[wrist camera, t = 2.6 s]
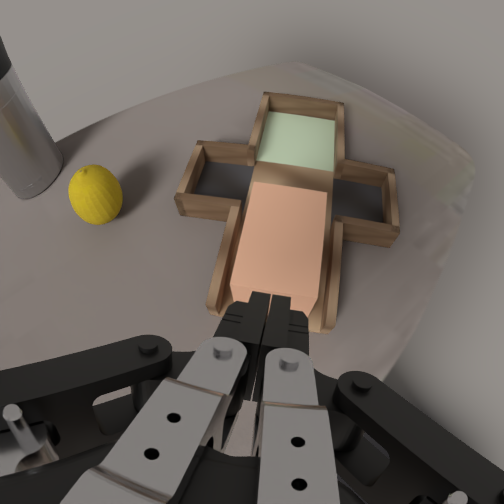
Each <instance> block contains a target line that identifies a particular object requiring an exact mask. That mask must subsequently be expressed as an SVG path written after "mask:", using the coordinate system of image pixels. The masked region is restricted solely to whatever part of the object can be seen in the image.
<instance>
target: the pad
mask: <svg viewBox="0 0 504 504" xmlns="http://www.w3.org/2000/svg"><path fill="white" fill-rule="evenodd" d="M334 131H335V121H333V120H327V119H321V118H315V117H308V116H301V115H294V114H286V113H278V112H270V111H269V112H268V116H267V120H266V123H265V127H264V131H263V135H262V139H261V143H260V147H259V151H258V155H257V159H256V160H257V161H265V162H273V163H280V164H287V165H294V166H301V167H307V168H314V169H320V170H326V171H331V172H333V169H334Z"/></svg>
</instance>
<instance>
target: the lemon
mask: <svg viewBox="0 0 504 504" xmlns="http://www.w3.org/2000/svg"><path fill="white" fill-rule="evenodd" d="M69 198H70V201H71V204H72V206H73V209H74V210H75V212H76V213H77V214H78V215H79V216H80V217H81V218H82V219H83V220H84V221H86V222H88V223H90V224H95V225H101V224H105V223H108V222H110V221H111V220H113V219H114V218H115V217H116V216H117V214H118V213H119V211H120V209H121V206H122V202H123V197H122V190H121V187H120V185H119V182H118V181H117V179H116V178H115V177H114V175H113V174H112V173H111V172H110V171H109V170H107V169H106V168H104V167H102V166H100V165H87V166H84V167H82V168H81V169H79V170H78V171H77V172H76V173H75V174H74V175H73V177H72V179H71V181H70V184H69Z"/></svg>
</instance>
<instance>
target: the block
mask: <svg viewBox="0 0 504 504" xmlns="http://www.w3.org/2000/svg"><path fill="white" fill-rule="evenodd" d="M326 202H327V192H321V191H315V190H309V189H302V188H296V187H289V186H282V185H275V184H268V183H261V182H254V183H253V187H252V192H251V196H250V200H249V204H248V208H247V213H246V217H245V221H244V225H243V229H242V234H241V238H240V242H239V246H238V251H237V255H236V259H235V264H234V268H233V272H232V277H231V281H230V287H231V292H232V296H233V300H234V302H235V301H241V302H247V303H248V301H249V298H250V296H251V293H252V291H257V292H263V293H269V294H271V298H270V304H271V299H272V295H273V294H275V295H282V296H288V297H291V306H290V310H297V311H303V312H304V314H305V315H306V316H307V317H308V316H309V314H310V312H311V310H312V308H313V306H314V304H315V302H316V300H317V298H318V290H319V281H320V271H321V262H322V251H323V240H324V229H325V216H326ZM269 308H270V305H269ZM268 313H269V311H268Z"/></svg>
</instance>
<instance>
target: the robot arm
mask: <svg viewBox="0 0 504 504" xmlns="http://www.w3.org/2000/svg"><path fill="white" fill-rule="evenodd" d="M62 164H63V156H62V154H61V152H60V151H59V149H58V147H57V146H56V144H55V142H54V141H53V139H52V137H51V136H50V134H49V132H48V131H47V129H46V127H45V125H44V124H43V122H42V120H41V118H40V117H39V115H38V113H37V111H36V109H35V108H34V106H33V104H32V102H31V100H30V99H29V97H28V95H27V93H26V91H25V89H24V87H23V85H22V83H21V81H20V80H19V78H18V76H17V74H16V72H15V70H14V68H13V66H12V64H11V61H10V59H9V57H8V55H7V52H6V50H5V47H4V44H3V42H2V39H1V37H0V177H1V178H2V179H3V180H4V182H5V183H6V184H7V185H8V186H9V188H10V189H11V190H12V191H13V192H14V193H15V195H16V196H17V197H19V198H21V199H28V198H32V197H34V196H36V195H38V194H39V193H41V192H42V191H44V190H45V189H46V188H47V187H48V186H49V185H50V184H51V183H52V182H53V181H54V180H55V178H56V177H57V175H58V174H59V172H60V170H61V167H62ZM270 298H271V294H269V293H263V292H257V291H252V293H251V296H250V298H249V301H248V303H247V302H241V301H235V302H234V303H232V304H230V305H229V306H228V307H227V310H226V312H225V314H224V316H223V318H222V320H221V322H220V324H219V326H218V328H217V330H216V332H215V334H214V336H213V338H209V339H207V340H205V341H203V342H202V343H201V345H200V346H199V347H198V349H197V350H196V351H192V352H172V346H171V344H170V343H169V341H167V340H166V339H164V338H162V337H160V336H156V335H141V336H137V337H133V338H129V339H126V340H122V341H119V342H115V343H111V344H108V345H104V346H100V347H96V348H93V349H89V350H85V351H81V352H77V353H73V354H69V355H65V356H61V357H57V358H53V359H49V360H45V361H41V362H37V363H32V364H28V365H24V366H19V367H15V368H10V369H6V370H1V371H0V504H365V503H364V502H363V501H362V500H361V499H360V498H359V497H358V496H357V495H356V494H355V493H354V492H353V491H352V490H351V489H350V488H348V487H347V486H346V485H344V484H343V483H341V482H340V481H338V480H337V474H338V475H339V476H340V477H341V478H342V479H343V480H344V481H345V482H346V483H347V484H348V485H349V486H350V487H351V488H352V489H353V490H354V491H355V492H356V493H357V494H358V495H359V496H360V497H361V498H362V499H363V500H364V501H366V502H367V503H368V504H504V471H503V470H501V469H500V468H499V467H497V466H496V465H494V464H493V463H491V462H490V461H489V460H487V459H486V458H484V457H483V456H482V455H480V454H479V453H477V452H476V451H474V450H473V449H472V448H470V447H469V446H467V445H466V444H465V443H464V442H462V441H461V440H459V439H458V438H457V437H455V436H454V435H453V434H451V433H450V432H448V431H447V430H446V429H444V428H443V427H442V426H440V425H439V424H437V423H436V422H435V421H433V420H432V419H431V418H429V417H428V416H426V415H425V414H424V413H423V412H421V411H420V410H419V409H417V408H416V407H415V406H413V405H412V404H410V403H409V402H408V401H407V400H405V399H404V398H403V397H401V396H400V395H399V394H397V393H396V392H395V391H393V390H392V389H391V388H389V387H388V386H387V385H385V384H384V383H383V382H381V381H380V380H379V379H377V378H376V377H374V376H373V375H371V374H368V373H365V372H361V371H350V372H346V373H344V374H342V375H341V376H340V377H339V379H338V380H337V379H334V378H331V377H328V376H326V375H323V374H321V373H320V372H318V371H317V370H316V369H314V367H313V362H312V360H311V358H310V357H309V335H308V334H309V328H308V327H309V319H308V318H307V316H306V315H305V314H304V312H303V311H297V310H290V306H291V297H288V296H282V295H275V294H273V295H272V299H271V304H270ZM269 305H270V308H269ZM268 311H269V313H268ZM256 373H257V375H256ZM255 377H256V381H255ZM254 382H255V387H254V393H253V399H252V401H255V402H258V403H257V408H256V414H255V419H254V427H253V437H252V447H251V456H248V457H234V456H229V455H226V454H224V451H225V449H226V446H227V444H228V441H229V439H230V436H231V434H232V431H233V429H234V426H235V424H236V421H237V418H238V414H239V410H240V409H241V407H242V403H243V400H249V401H250V399H251V395H252V390H253V386H254ZM128 386H130V387H131V394H129V395H126V396H123V397H120V398H117V399H114V400H111V401H108V402H105V403H101V404H98V405H95V406H92V405H93V402H94V400H95V399H96V398H97V397H99V396H101V395H104V394H107V393H110V392H113V391H116V390H119V389H122V388H125V387H128ZM365 432H366V433H367V434H368V435H370V437H372V438H373V439H374V440H375V441H376V442H377V443H379V444H380V445H381V446H382V447H383V448H384V449H385V450H386V451H387V452H388V454H389V457H390V459H388V458H387V457H386V456H385V455H384V454H382V453H381V452H380V451H379V450H378V449H377V448H376V447H375V446H374V445H372V444H371V443H370V442H369V441H368V440H367V439H366V438H365V437H363V435H364V433H365ZM336 473H337V474H336Z"/></svg>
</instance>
